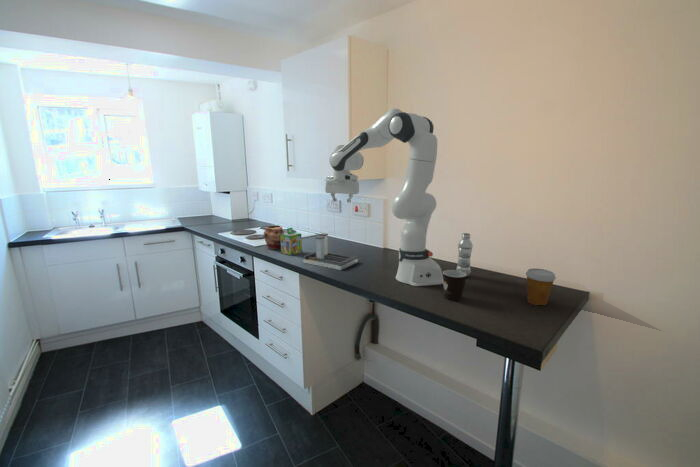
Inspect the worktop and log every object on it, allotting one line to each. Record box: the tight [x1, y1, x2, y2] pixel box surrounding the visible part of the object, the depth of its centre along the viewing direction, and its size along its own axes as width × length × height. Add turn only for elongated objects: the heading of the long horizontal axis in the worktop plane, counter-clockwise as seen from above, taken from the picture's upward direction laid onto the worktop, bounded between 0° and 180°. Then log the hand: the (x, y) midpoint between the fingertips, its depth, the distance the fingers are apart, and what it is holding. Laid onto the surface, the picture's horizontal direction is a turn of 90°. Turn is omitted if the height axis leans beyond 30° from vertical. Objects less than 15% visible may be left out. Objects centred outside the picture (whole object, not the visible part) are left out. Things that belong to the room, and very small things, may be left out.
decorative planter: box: [263, 224, 285, 250], centre depth 199 cm, size 20×12×14 cm, turn 43°
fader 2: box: [318, 232, 329, 255], centre depth 174 cm, size 3×3×12 cm
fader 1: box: [314, 235, 325, 259], centre depth 166 cm, size 3×3×12 cm
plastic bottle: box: [455, 232, 474, 278], centre depth 146 cm, size 6×7×20 cm
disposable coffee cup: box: [525, 268, 557, 306], centre depth 118 cm, size 10×10×12 cm
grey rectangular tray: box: [302, 251, 359, 271], centre depth 168 cm, size 24×16×4 cm, turn 58°
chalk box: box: [280, 227, 303, 256], centre depth 186 cm, size 9×9×15 cm
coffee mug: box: [442, 269, 467, 302], centre depth 123 cm, size 12×9×10 cm
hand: (341, 201), depth 174 cm, fingers open, 8 cm apart
